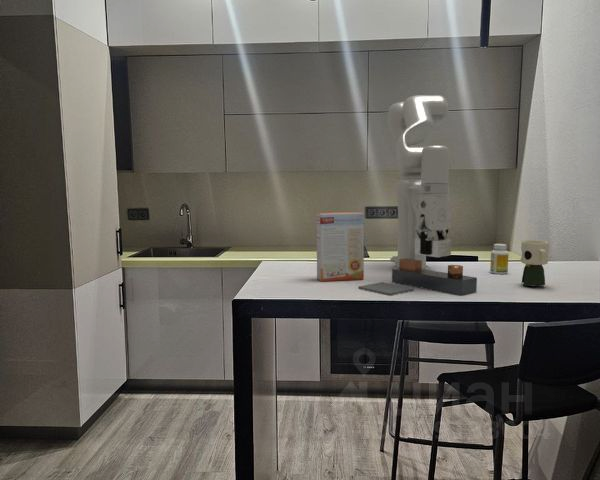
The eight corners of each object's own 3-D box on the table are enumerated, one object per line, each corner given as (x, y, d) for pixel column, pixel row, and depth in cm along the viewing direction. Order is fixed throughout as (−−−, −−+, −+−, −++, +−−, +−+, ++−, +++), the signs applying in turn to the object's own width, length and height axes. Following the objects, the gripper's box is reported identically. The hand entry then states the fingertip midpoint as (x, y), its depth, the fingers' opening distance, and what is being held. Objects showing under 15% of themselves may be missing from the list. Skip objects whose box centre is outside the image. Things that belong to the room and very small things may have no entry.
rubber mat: (358, 288, 142) (358, 286, 142) (382, 284, 148) (382, 282, 148) (390, 295, 133) (390, 293, 132) (414, 290, 139) (414, 288, 139)
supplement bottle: (487, 272, 166) (488, 244, 165) (495, 271, 170) (496, 243, 169) (502, 275, 162) (503, 245, 161) (510, 273, 166) (511, 244, 165)
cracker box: (358, 276, 161) (358, 211, 159) (364, 280, 155) (364, 212, 153) (315, 278, 158) (315, 212, 156) (320, 281, 152) (320, 213, 150)
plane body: (392, 282, 151) (392, 259, 150) (407, 279, 155) (407, 257, 154) (461, 295, 132) (462, 269, 131) (476, 291, 136) (477, 266, 136)
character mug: (512, 282, 149) (514, 239, 148) (535, 282, 149) (537, 239, 148) (530, 290, 138) (532, 243, 137) (555, 290, 139) (557, 243, 137)
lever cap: (414, 254, 144) (415, 235, 144) (427, 252, 148) (428, 234, 147) (437, 257, 138) (438, 238, 137) (450, 255, 142) (451, 236, 141)
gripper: (426, 190, 133) (424, 257, 135) (463, 189, 143) (461, 251, 145) (404, 190, 138) (402, 254, 141) (441, 189, 149) (439, 249, 151)
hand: (432, 252), depth 143 cm, fingers closed on lever cap, 6 cm apart
